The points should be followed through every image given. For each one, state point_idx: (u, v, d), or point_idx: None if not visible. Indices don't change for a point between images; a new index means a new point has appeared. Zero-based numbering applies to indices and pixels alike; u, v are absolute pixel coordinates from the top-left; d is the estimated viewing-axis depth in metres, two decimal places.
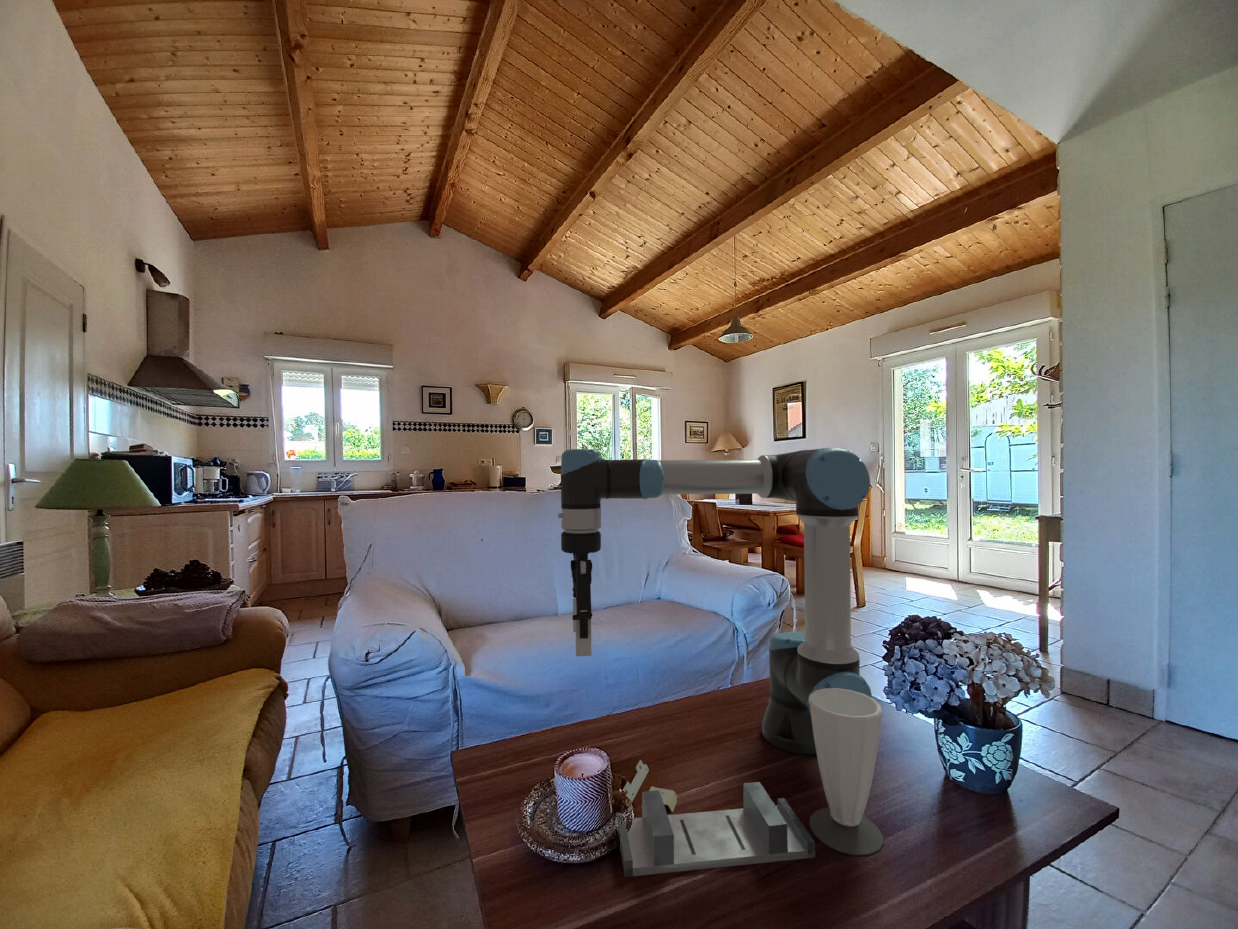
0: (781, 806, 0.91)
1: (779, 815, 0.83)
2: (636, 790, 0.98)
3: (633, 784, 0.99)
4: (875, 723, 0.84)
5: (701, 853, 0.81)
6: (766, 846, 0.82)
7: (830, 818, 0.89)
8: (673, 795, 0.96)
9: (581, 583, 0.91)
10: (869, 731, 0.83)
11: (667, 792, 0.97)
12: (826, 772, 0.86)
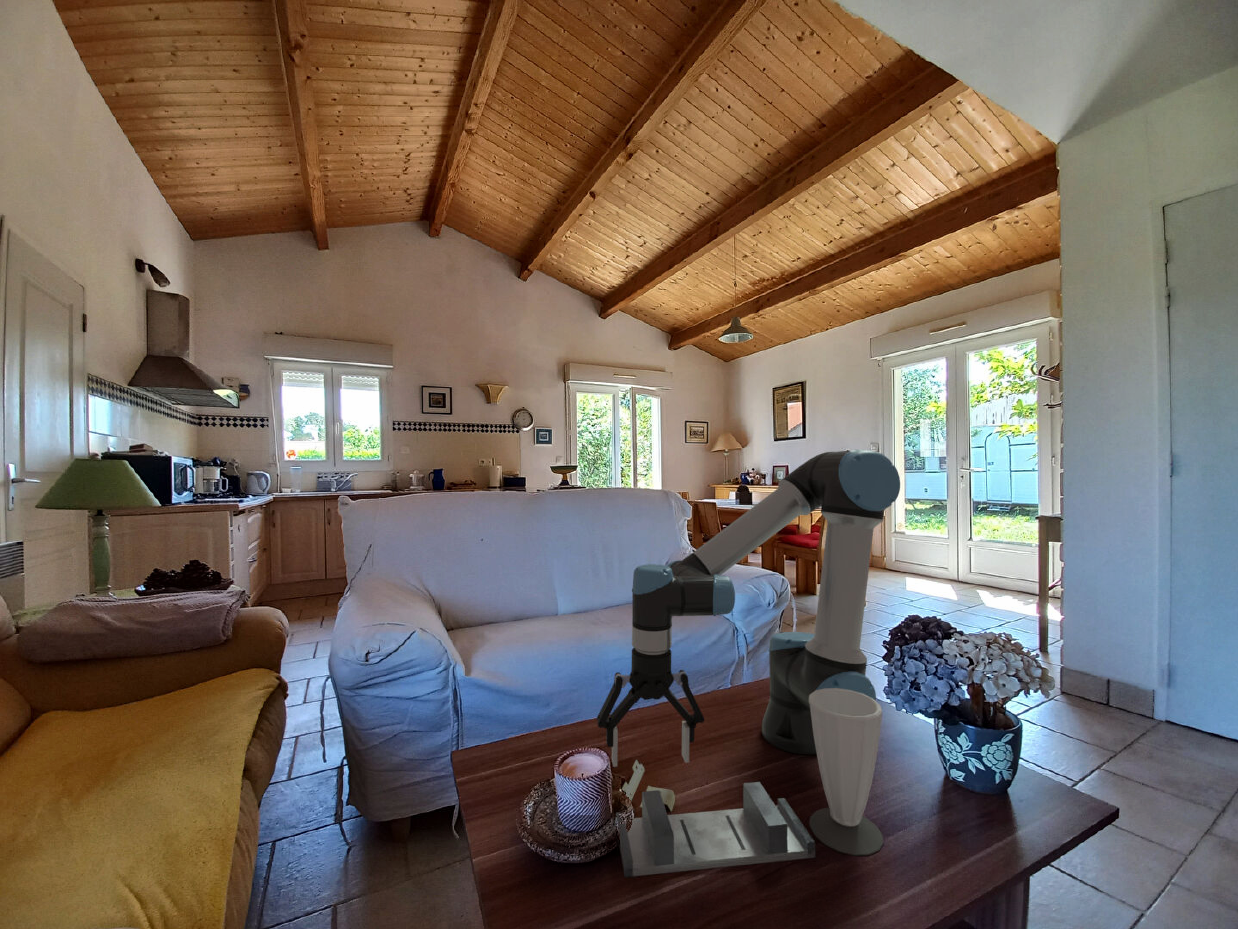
0: (781, 806, 0.91)
1: (779, 815, 0.83)
2: (634, 790, 0.98)
3: (631, 784, 0.99)
4: (875, 723, 0.84)
5: (701, 853, 0.81)
6: (766, 846, 0.82)
7: (830, 818, 0.89)
8: (672, 794, 0.96)
9: (610, 692, 0.98)
10: (869, 731, 0.83)
11: (665, 791, 0.97)
12: (826, 772, 0.86)
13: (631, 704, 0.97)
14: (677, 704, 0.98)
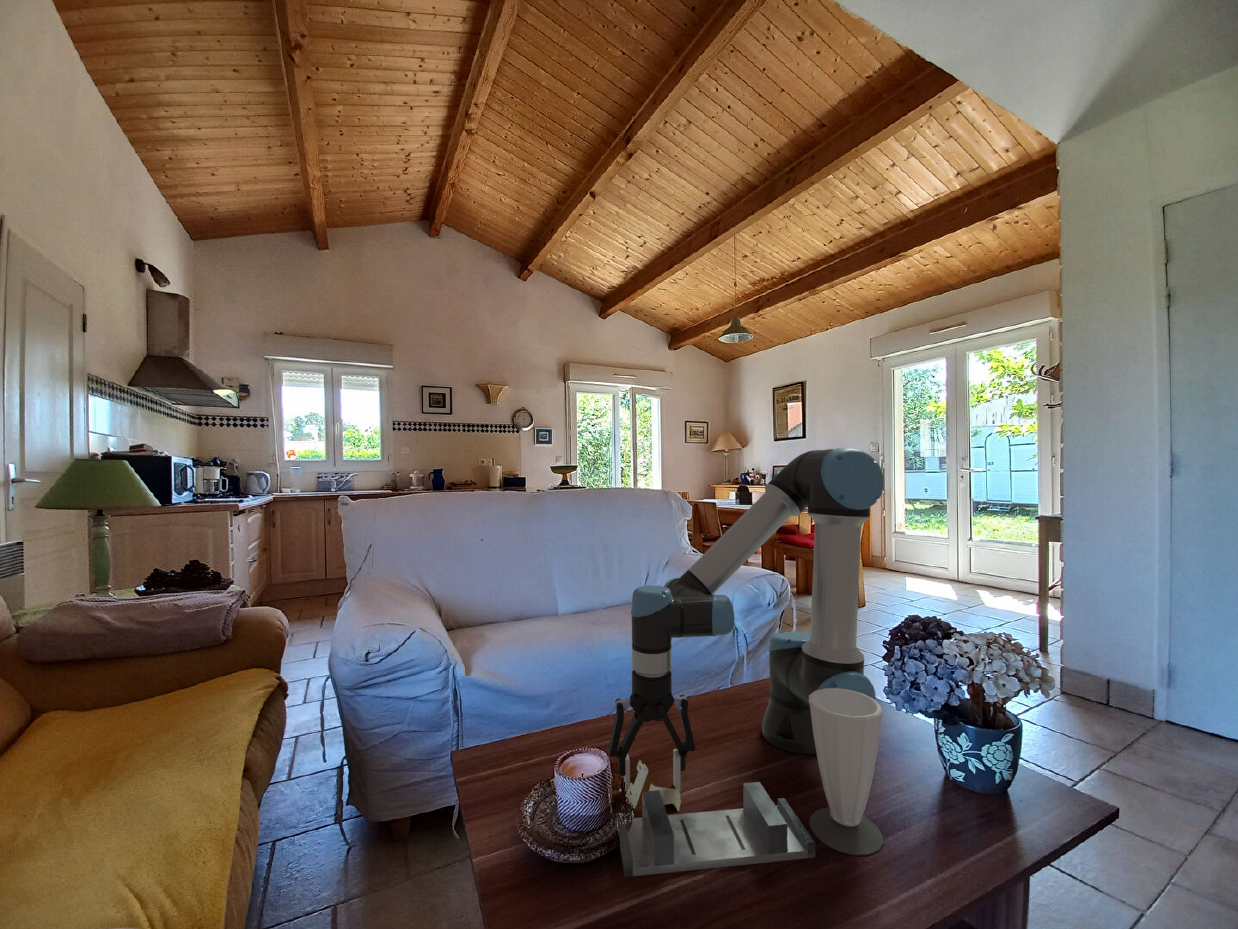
0: (781, 806, 0.91)
1: (779, 815, 0.83)
2: (639, 790, 0.98)
3: (636, 784, 0.98)
4: (875, 723, 0.84)
5: (701, 853, 0.81)
6: (766, 846, 0.82)
7: (830, 818, 0.89)
8: (677, 793, 0.96)
9: (615, 720, 0.98)
10: (869, 731, 0.83)
11: (670, 791, 0.97)
12: (826, 772, 0.86)
13: (637, 729, 0.97)
14: (673, 730, 0.98)
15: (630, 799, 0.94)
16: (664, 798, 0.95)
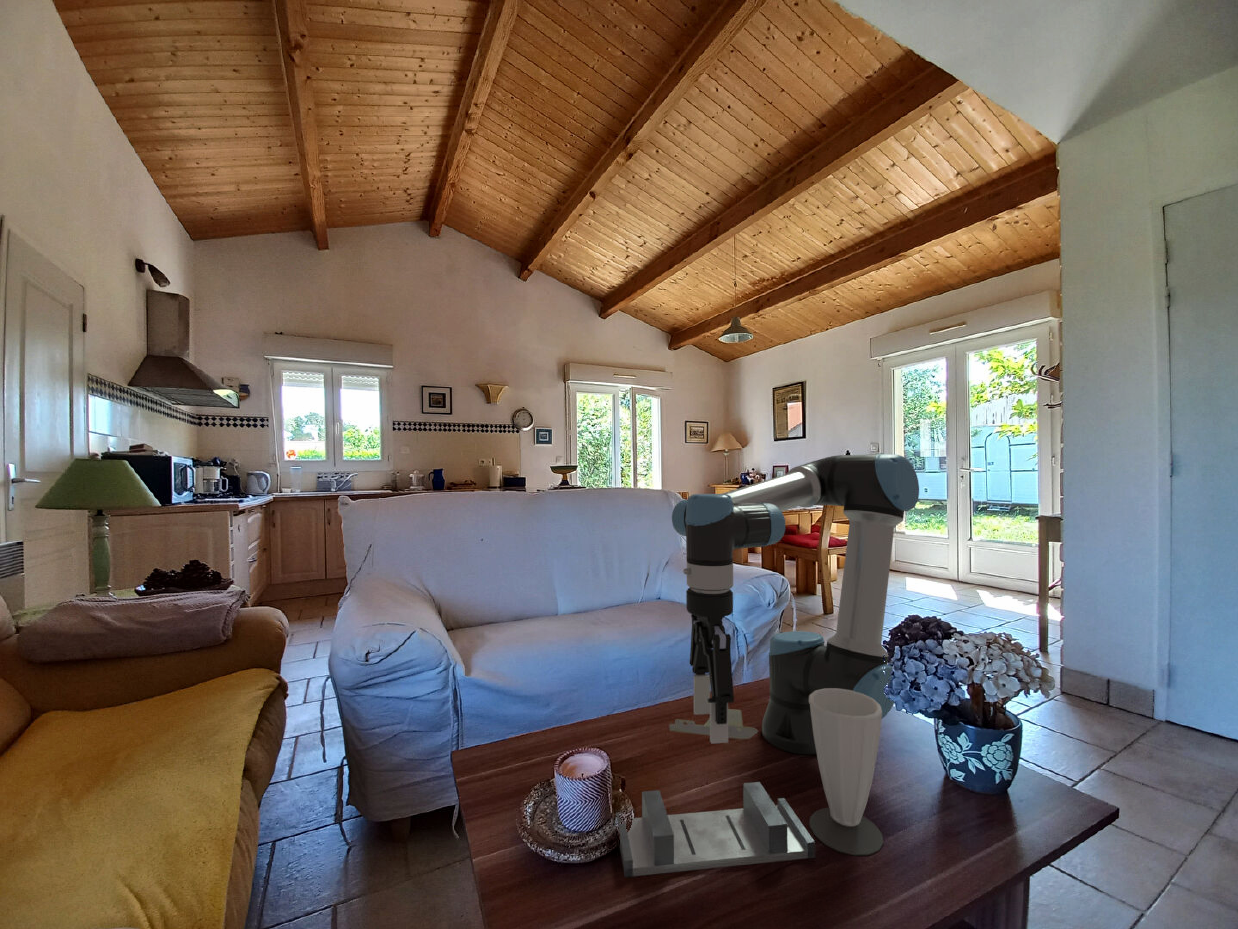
0: (781, 806, 0.91)
1: (779, 815, 0.83)
2: None
3: None
4: (875, 723, 0.84)
5: (701, 853, 0.81)
6: (766, 846, 0.82)
7: (830, 818, 0.89)
8: None
9: (720, 661, 0.79)
10: (869, 731, 0.83)
11: None
12: (826, 772, 0.86)
13: None
14: None
15: (746, 731, 0.81)
16: (730, 716, 0.87)
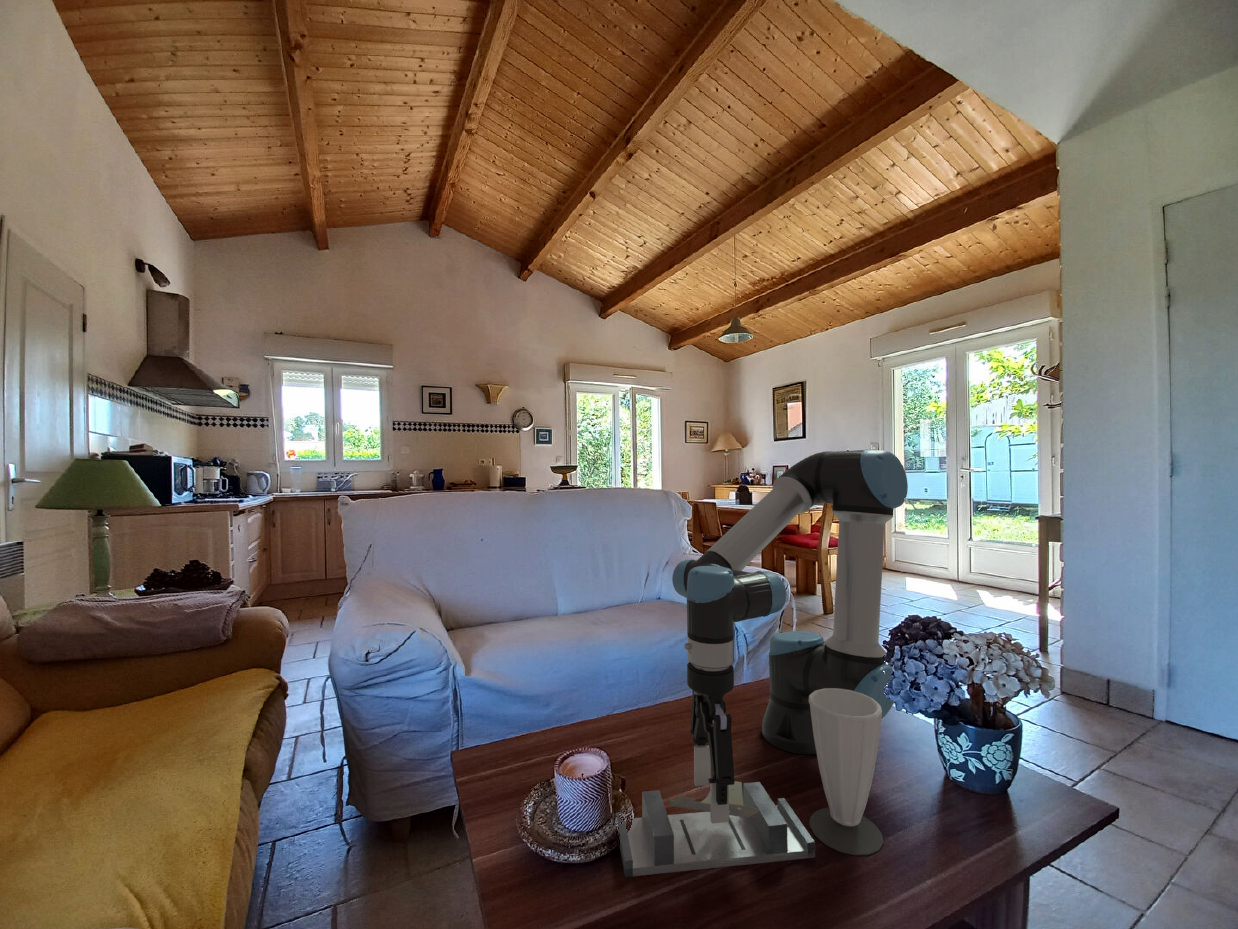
0: (781, 806, 0.91)
1: (779, 815, 0.83)
2: None
3: None
4: (875, 723, 0.84)
5: (701, 853, 0.81)
6: (766, 846, 0.82)
7: (830, 818, 0.89)
8: None
9: (721, 742, 0.78)
10: (869, 731, 0.83)
11: None
12: (826, 772, 0.86)
13: None
14: None
15: (747, 810, 0.81)
16: (731, 789, 0.87)
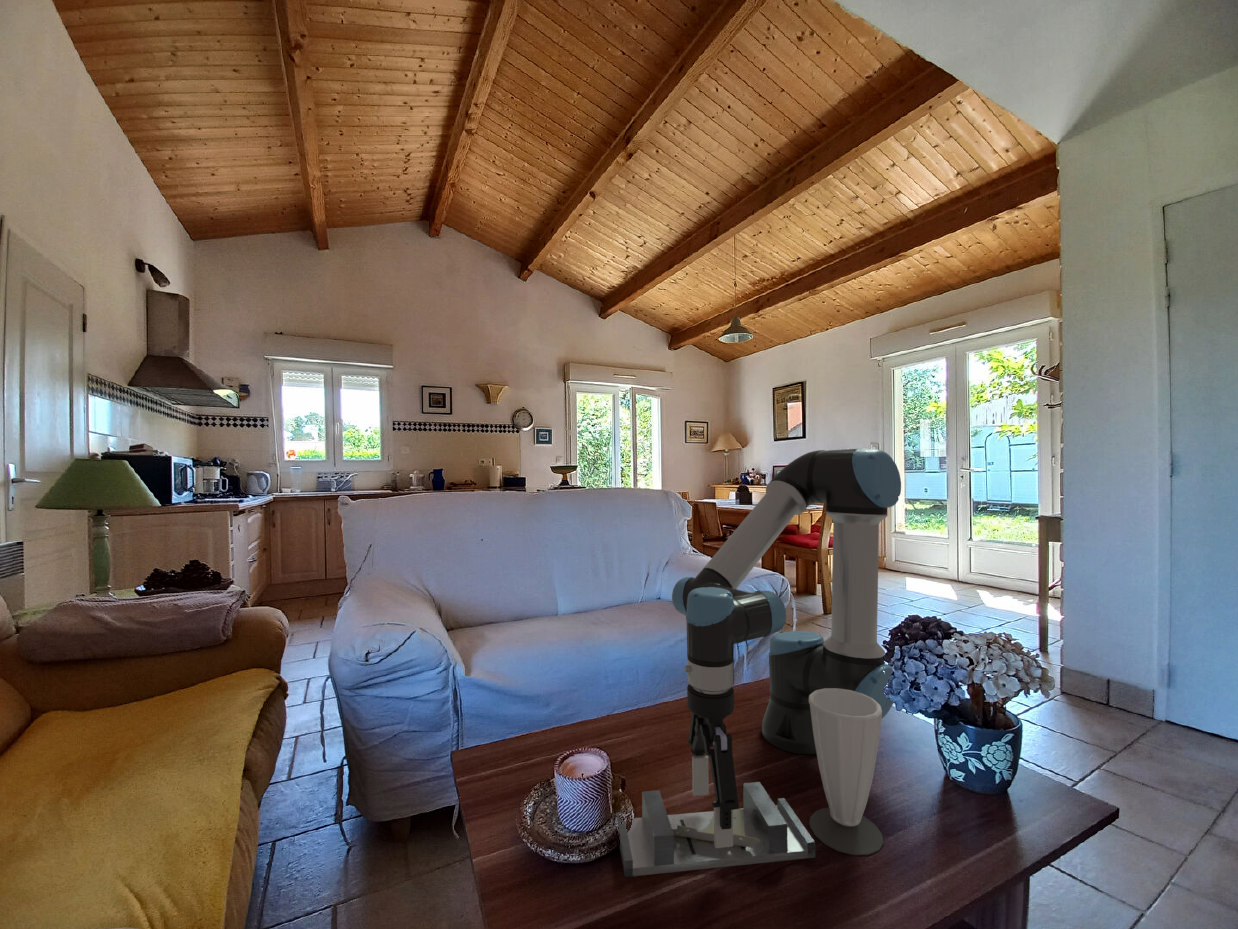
0: (781, 806, 0.91)
1: (779, 815, 0.83)
2: None
3: None
4: (875, 723, 0.84)
5: (701, 853, 0.81)
6: (766, 846, 0.82)
7: (830, 818, 0.89)
8: None
9: (722, 764, 0.78)
10: (869, 731, 0.83)
11: None
12: (826, 772, 0.86)
13: None
14: None
15: (748, 840, 0.81)
16: None
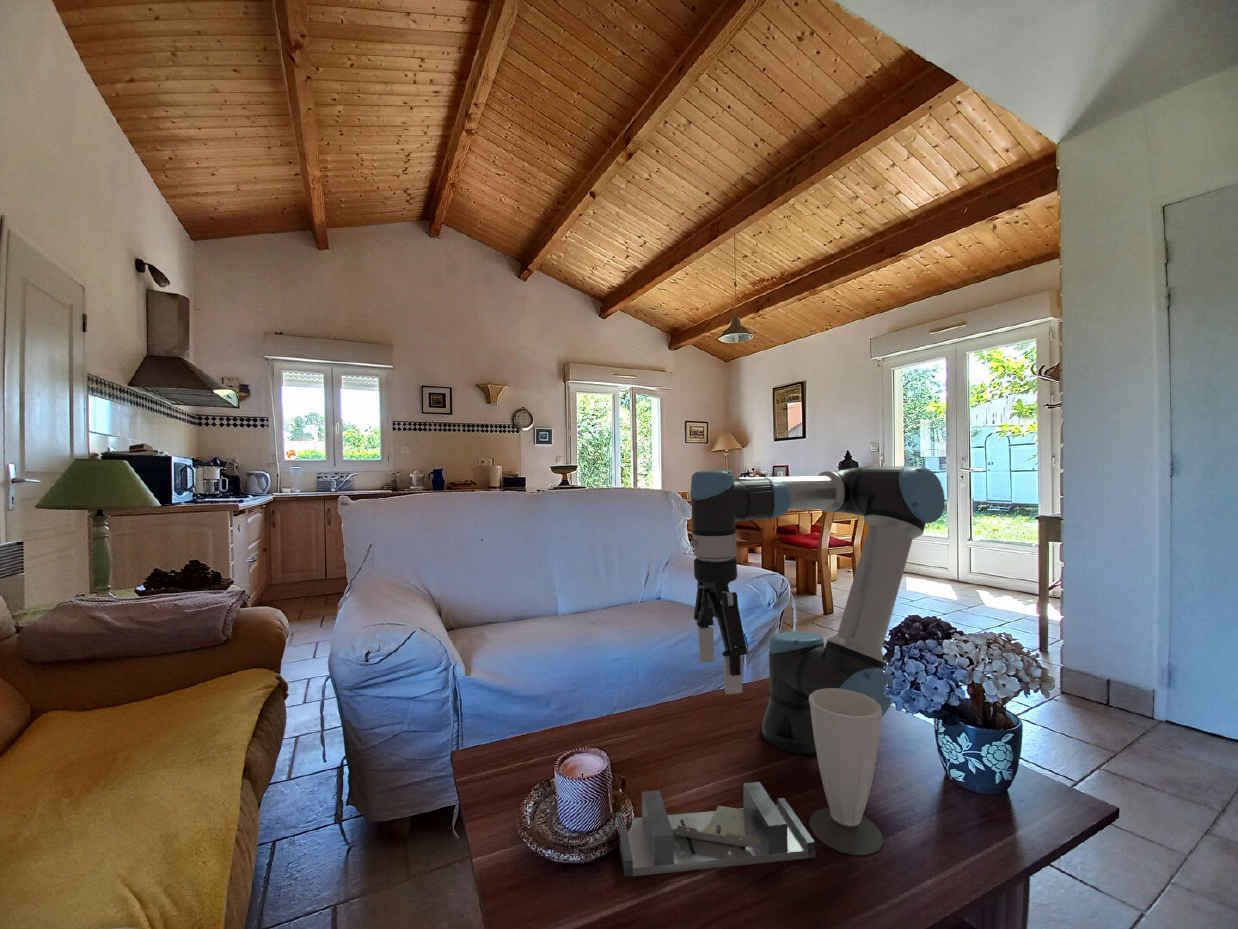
0: (781, 806, 0.91)
1: (779, 815, 0.83)
2: None
3: None
4: (875, 723, 0.84)
5: (701, 853, 0.81)
6: (766, 846, 0.82)
7: (830, 818, 0.89)
8: (722, 806, 0.90)
9: (730, 616, 0.85)
10: (869, 731, 0.83)
11: (721, 811, 0.89)
12: (826, 772, 0.86)
13: None
14: None
15: (748, 840, 0.81)
16: (732, 817, 0.87)
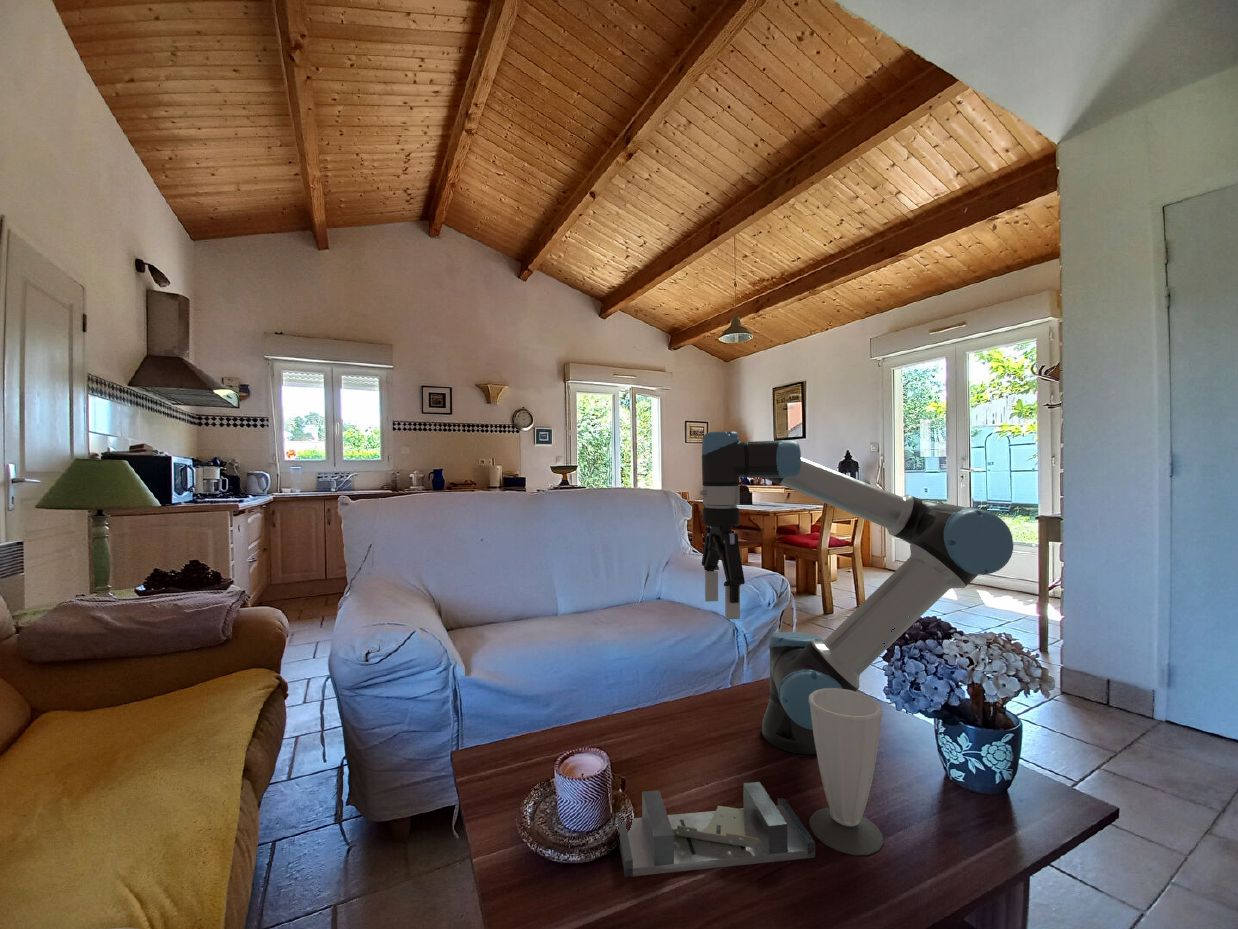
0: (781, 806, 0.91)
1: (779, 815, 0.83)
2: None
3: None
4: (875, 723, 0.84)
5: (701, 853, 0.81)
6: (766, 846, 0.82)
7: (830, 818, 0.89)
8: (722, 806, 0.90)
9: (731, 552, 1.00)
10: (869, 731, 0.83)
11: (721, 811, 0.89)
12: (826, 772, 0.86)
13: None
14: None
15: (748, 840, 0.81)
16: (732, 817, 0.87)
